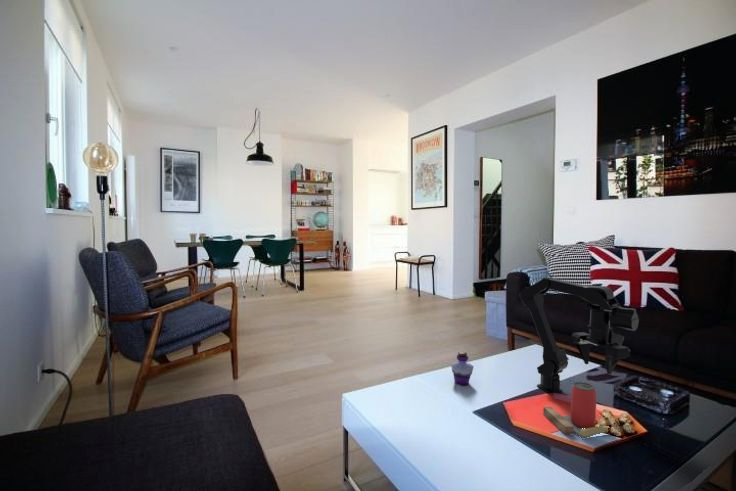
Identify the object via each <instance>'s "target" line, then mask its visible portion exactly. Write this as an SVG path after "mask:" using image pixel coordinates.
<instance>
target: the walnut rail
mask: <svg viewBox="0 0 736 491" xmlns="http://www.w3.org/2000/svg"><path fill="white" fill-rule="evenodd" d="M542 410H543V411H542V414H543V416H544V417H545V418H547V419H548V420H549V422H551V423H552V424H553V425H554V426H555V428H557V429H558V430H559V429H560V430H561V431H562V432H563V433H562V432H561V431H560V430H559V431H560V432H561V433H562V434H563V435H565V436H571V435H570V434H574V426H572V425H571V424H570V423H569V422H568V421H567V420H566V419H564V418H563V417H562V416H563V415H561V414H560V413H559V412H558V411H557V410H556V409H555V408H553V407H552V406H543V409H542ZM574 435H575V434H574Z"/></svg>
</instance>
